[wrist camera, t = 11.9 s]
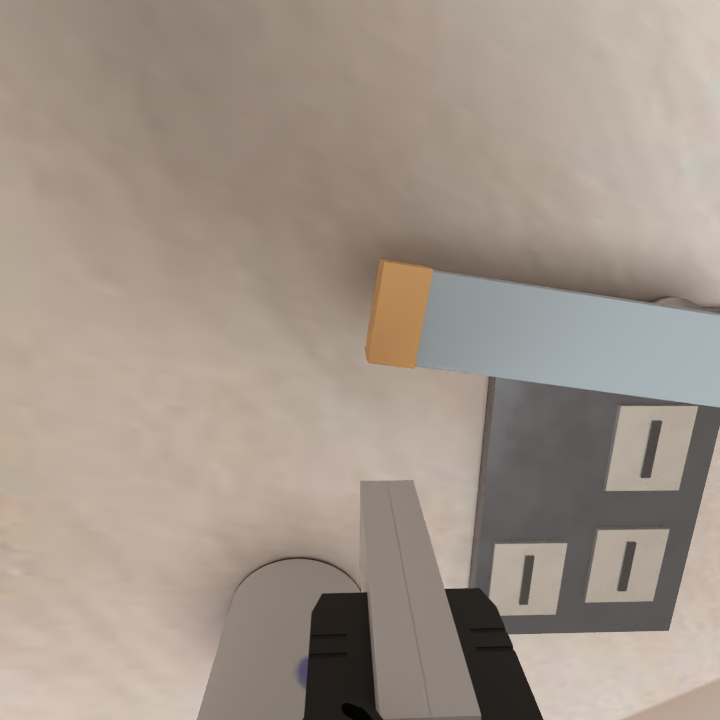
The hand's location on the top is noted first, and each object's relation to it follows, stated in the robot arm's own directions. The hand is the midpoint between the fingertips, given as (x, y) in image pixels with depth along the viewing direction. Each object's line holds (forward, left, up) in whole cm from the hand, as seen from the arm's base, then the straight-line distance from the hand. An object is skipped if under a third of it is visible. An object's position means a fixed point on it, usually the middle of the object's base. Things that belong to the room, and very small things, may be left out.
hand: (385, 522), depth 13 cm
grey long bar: (-4, +10, -9) cm, 14 cm away
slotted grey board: (+8, +16, -16) cm, 24 cm away
